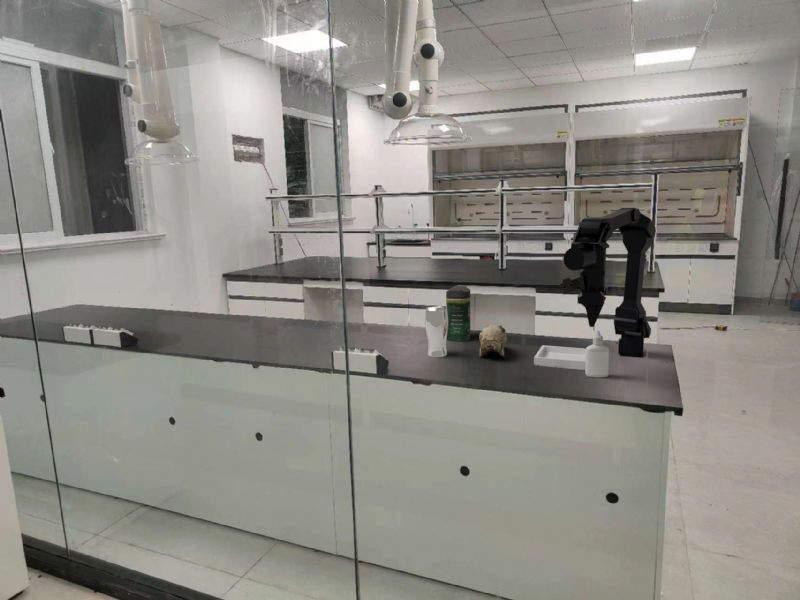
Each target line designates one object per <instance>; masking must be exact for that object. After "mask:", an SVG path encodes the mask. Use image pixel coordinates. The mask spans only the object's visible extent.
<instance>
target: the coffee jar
mask: <svg viewBox="0 0 800 600" xmlns="http://www.w3.org/2000/svg"><path fill="white" fill-rule="evenodd" d="M445 305H446V306H445V307H446V308H447V311H448V332H447V339H446V341H449V342H456V343H462V342H463V343H465V342H468V341H469V340H470V339H471V289H470V288H468V286H467V285H455V286H453V287H451V288H448V290H446V292H445Z"/></svg>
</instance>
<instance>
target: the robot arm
mask: <svg viewBox="0 0 800 600" xmlns="http://www.w3.org/2000/svg"><path fill="white" fill-rule="evenodd" d="M656 228H657V227H656V226H655V224H654V222H653V220H652V219H651V218H650V217H648V216H647V215H645V214H643V213H642V212H641V211H640V209H639V208H637V207H621V208H619V209H618V210H616V211H613V212H610V213H608V214H607V215H606V214H605V215H603V216H601V217H584V218H583V219H582V220H581V221H580V223H579V225H578V227H577V229H576V232H575V233H574V234H575V235H574V237H573V239H572V242H570V248H568V249H567V250H566V251H565V253H564V255H563V257H562V259H563V264H564V266H565V267H566V268H567V269H568V270H570V271H580V270H581V272H580V274H579V275H578V276H574V277H570V276H568V277H565V278H563V279H562V280H561V281H560V282H559V284H558V285H559V289H560V290H561V292H562V295H568V293H571V292H574V291H577V290H579V293H578V295H577V304H578V305H581V306H583V307H584V309H585V313H586V317H587V321H588V326H589V328H594V327H595V326H596V322H597V321H598V318H599V316H600V314H601V311H602V309H603V306H604V305H605V301H606V299H607V296H605V295H607V294H608V285H607V284H606V274H607V269H606V268H607V265H606V264H607V263H606V262H607V249H609V248H610V244H609V243H608V240H610V238H611V237H612V236H613V235H614V231H616V230H618V232H619V233H620V235H621V236H622V244H623V246H624V247H625V250H626V251H627V257H626V267H625V276H624V289H623V298H622V299H623V300H622V302H621V303H620V305H619V306H617V307H615V310H614V318H613V326H614V334H615V335H619V336H620V337H619V338H618V349H617V351H618V352H617V353H618V354H619V357H629V358H640V359H641V358H642V359H643V358H644V356H645V355H644V348H645V347H644V345H645V343H644V342H645V339H650V336H651V334H652V328H651V326H650V324H649V321H648V319H647V310H646V309H645V307H644V306H643V304H642V296H643V286H644V285H643V284H644V274H645V265H646V256H647V255H646V254H647V252H648V251H649V249H650V248H651V247H652V246H653V244H654V239H655V236H656V233H657V229H656Z"/></svg>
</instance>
